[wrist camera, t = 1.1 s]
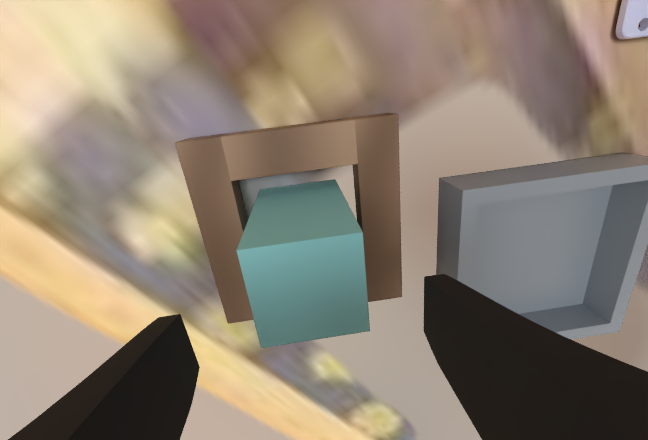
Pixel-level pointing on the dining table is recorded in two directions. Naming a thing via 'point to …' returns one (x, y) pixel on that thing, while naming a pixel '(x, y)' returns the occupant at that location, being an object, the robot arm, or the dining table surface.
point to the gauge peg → (304, 265)
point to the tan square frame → (288, 157)
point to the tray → (550, 239)
